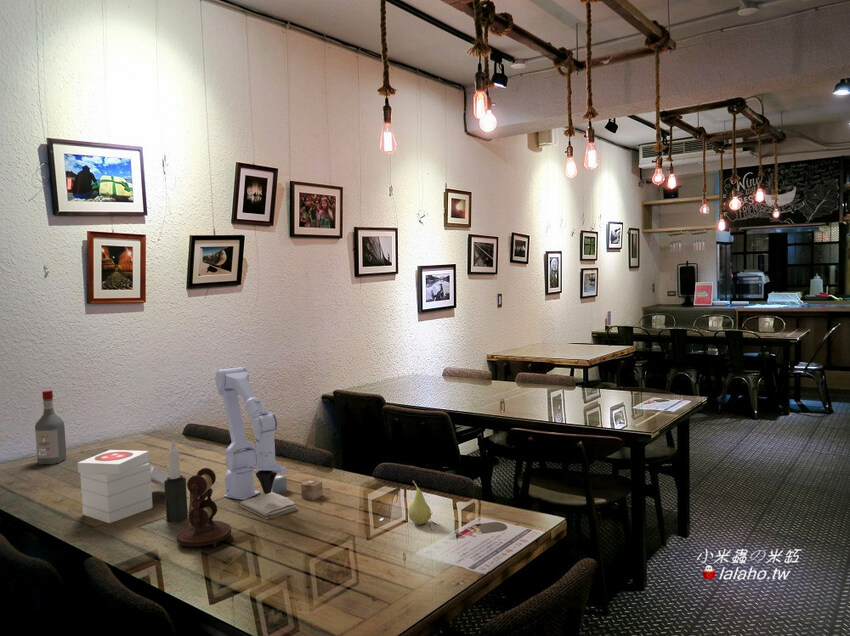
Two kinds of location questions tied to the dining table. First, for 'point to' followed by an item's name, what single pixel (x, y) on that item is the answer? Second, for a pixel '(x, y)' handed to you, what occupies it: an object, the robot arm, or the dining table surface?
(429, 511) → the fruit
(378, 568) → the dining table surface
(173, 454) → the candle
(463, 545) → the dining table surface
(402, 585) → the dining table surface
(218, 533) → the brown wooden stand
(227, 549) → the dining table surface
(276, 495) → the washcloth
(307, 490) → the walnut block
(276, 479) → the slate cylinder
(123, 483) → the pizza boxes
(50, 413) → the liquor
